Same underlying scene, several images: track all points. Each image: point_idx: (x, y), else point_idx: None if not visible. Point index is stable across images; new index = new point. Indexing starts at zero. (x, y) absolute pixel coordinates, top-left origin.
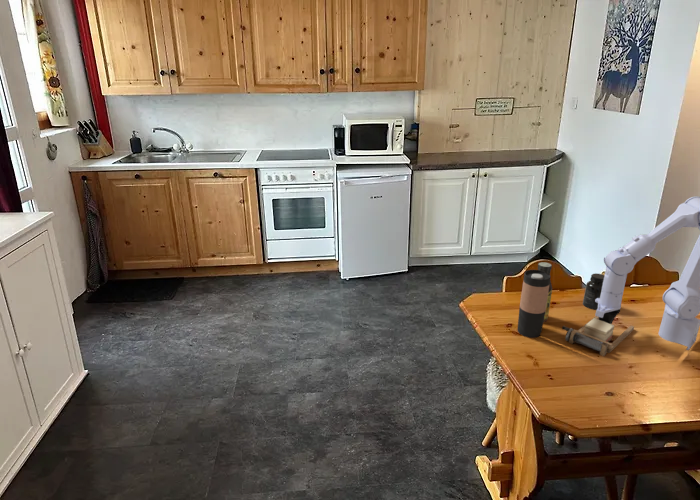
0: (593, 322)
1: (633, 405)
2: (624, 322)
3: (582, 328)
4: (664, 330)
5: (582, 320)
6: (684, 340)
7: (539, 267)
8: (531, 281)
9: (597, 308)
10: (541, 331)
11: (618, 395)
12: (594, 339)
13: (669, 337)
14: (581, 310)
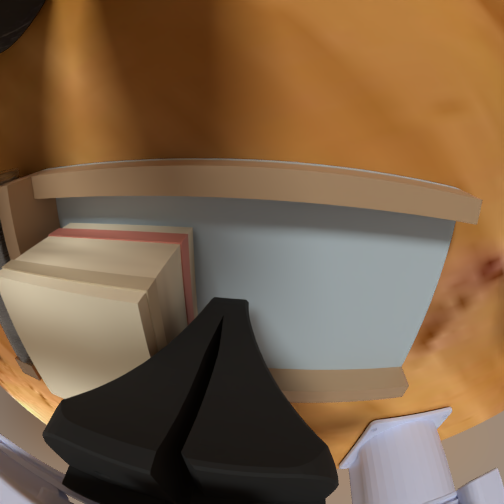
0: (59, 318)
1: (15, 386)
2: (475, 313)
3: (126, 179)
4: (377, 467)
5: (383, 95)
6: (355, 478)
7: None
8: None
9: (61, 443)
10: (2, 40)
11: (6, 367)
12: (8, 328)
13: (362, 461)
14: (497, 74)
